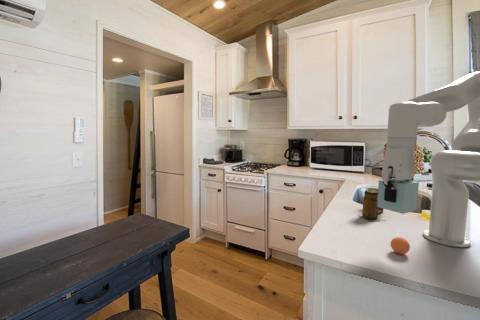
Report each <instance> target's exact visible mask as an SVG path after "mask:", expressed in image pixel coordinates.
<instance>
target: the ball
mask: <svg viewBox="0 0 480 320" xmlns="http://www.w3.org/2000/svg"><path fill="white" fill-rule="evenodd" d="M390 247H391V249H392V251H394V253H397V254H399V255H405V254H407V253H408V252H409V251H410V250H411V246H410V243H409V241H408V240H407V239H405V238H404V237H401V236H400V237H399V236H398V237H397V236H396V237H394V238H392V239H391V240H390Z"/></svg>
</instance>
